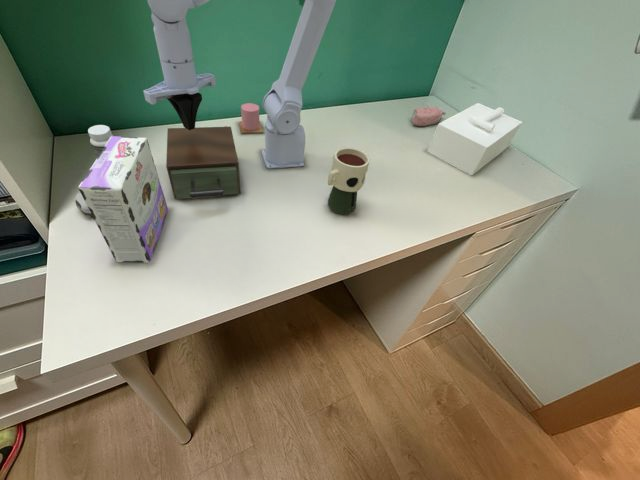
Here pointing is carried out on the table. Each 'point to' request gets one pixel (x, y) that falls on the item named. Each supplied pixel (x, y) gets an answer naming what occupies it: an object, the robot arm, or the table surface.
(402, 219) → the table surface
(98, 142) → the pill bottle
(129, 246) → the candy box
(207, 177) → the drawer
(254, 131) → the cork mat
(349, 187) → the character mug
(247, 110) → the pink short cylinder
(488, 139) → the white slanted box
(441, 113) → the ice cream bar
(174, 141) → the cabinet
